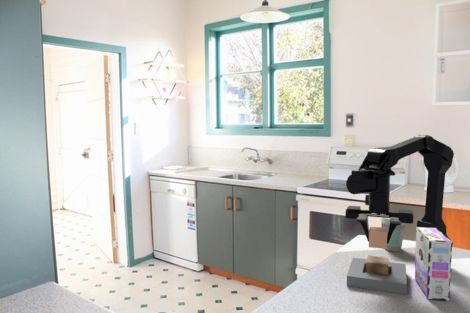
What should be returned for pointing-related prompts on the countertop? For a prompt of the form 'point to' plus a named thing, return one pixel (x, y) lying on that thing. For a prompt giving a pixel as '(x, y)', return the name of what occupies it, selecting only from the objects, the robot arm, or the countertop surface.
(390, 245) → the coffee cup
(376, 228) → the peach cube
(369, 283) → the grey slotted square board
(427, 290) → the candy box
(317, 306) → the countertop surface
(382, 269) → the walnut block
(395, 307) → the countertop surface
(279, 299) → the countertop surface
